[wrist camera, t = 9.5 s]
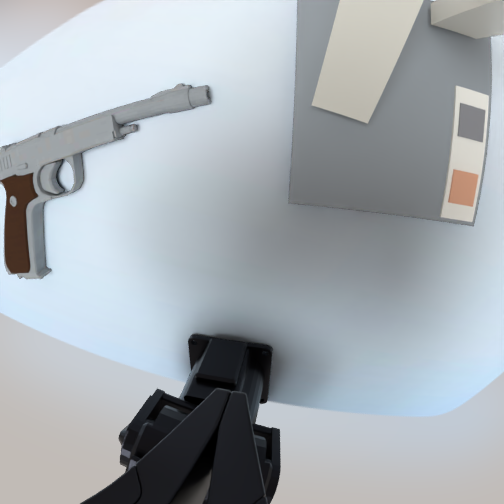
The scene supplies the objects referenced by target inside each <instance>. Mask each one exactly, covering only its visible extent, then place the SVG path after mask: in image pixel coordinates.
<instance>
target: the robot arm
mask: <svg viewBox="0 0 504 504" xmlns="http://www.w3.org/2000/svg"><path fill="white" fill-rule="evenodd" d="M193 340H194V341H196V342H194V341H193ZM188 345H189V354H190V363H191V373H190V375H189V378H188V380H187V382H186V384H185V386H184V389H183V391H182V393H181V396H180V398H176V397H174V396H171V395H169V394H166V393H165V392H164V391H162V390H160V389H157V390H156V391H155V393H154V394H153V395H152V396H150V397H149V398H148V399H147V400H146V402H145V404H144V405H143V406H142V408H141V409H140V410H139V412H138V413H137V415H136V416H135V417H134V419H133V420H132V422H131V423H130V424H129V425H128V426H126V427H125V428H124V429H123V430H122V431H121V432H120V435H119V441H120V443H121V445H122V448H121V455H120V464H121V465H123V466H125V467H127V468H126V472H125V473H124V474H123V475H122V476H121V477H119V478H118V479H117V480H116V481H114V482H113V483H112V484H110V485H109V486H107V487H106V488H104V489H103V490H102V491H100V492H98V493H97V494H96V495H94V496H92V497H90V498H89V499H87V500H85V501H84V502H82V503H80V504H270V503H271V501H272V499H273V496H274V494H275V491H276V488H277V485H278V481H279V475H280V429H277V428H273V427H272V428H268V427H265V426H261V425H257V424H255V422H256V417H257V412H258V408H259V403H260V404H263V403H266V402H267V400H268V392H269V382H270V372H271V362H272V352H273V350H272V348H271V347H270V346H268V345H261V344H253V343H246V342H239V341H232V340H225V339H218V338H212V337H205V336H199V335H191V336H190V338H189V340H188ZM263 351H267V352H268V353H265V352H263ZM262 398H263V399H262Z"/></svg>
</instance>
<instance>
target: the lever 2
mask: <svg viewBox="0 0 504 504" xmlns="http://www.w3.org/2000/svg"><path fill="white" fill-rule="evenodd" d="M431 25H434V26H438V27H441V28H445V29H448V30H451V31H454V32H457V33H460V34H463V35H466V36H469V37H472V38H475V39H478V38H484V37H491V36H498V35H504V0H436V1H434V2H432V3H431Z"/></svg>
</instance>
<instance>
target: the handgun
mask: <svg viewBox="0 0 504 504" xmlns="http://www.w3.org/2000/svg"><path fill="white" fill-rule="evenodd" d="M207 92H209V89H208V86H207V85H205V86H200V87H195V88H191V85H186V86H183V84H178V85H177V86H175V87H174V88H173V89H169V90H165V91H161V92H159V93H157V94H155V95H153V96H151V98H149V99H145V100H141V101H138V102H134V103H131V104H127V105H124V106H121V107H117V108H114V109H111V110H108V111H105V112H102V113H99V114H96V115H93V116H90V117H87V118H84V119H81V120H79V121H76V122H73V123H70V124H68V125H65V126H63V127H62V126H57V127H55V128H52V129H50V130H48V131H45V132H41V133H38V134H36V135H34V136H32V137H30V138H27V139H25V140H23V141H21V142H19V143H17V144H15V143H13V144H10V145H6V146H2V147H0V184H2V185H3V186H4V188H5V190H6V208H5V224H4V264H5V268H6V271H7V272H8V274H9V275H10V274H17V276H18V277H19V279H21V278H22V277H24V278H26V279H42V278H43V277H44V276H46V275H47V274H48V273H49V272H51V269H49V268H47V267H46V259H45V245H44V225H43V206H44V203H45V201H48V200H51V199H54V198H58V197H62V196H66V195H69V194H71V193H73V192H75V191H76V190H78V189H79V188H80V187H81V185H82V182H83V180H84V177H83V165H82V157H81V153H82V152H84V151H86V150H88V149H91V148H93V147H97V146H100V145H103V144H106V143H109V142H113V141H116V140H120V139H123V138H124V137H122V136H125V134H127V133H131V132H135V131H136V130H137V127H136V125H135V124H133V125H129V126H125V127H124V123H128V122H131V121H135V120H139V119H143V118H147V117H151V116H155V115H159V114H163V113H174V112H179V111H183V110H188V109H193V108H195V107H196V106H201V105H207V104H210V98H208V97H207ZM118 137H120V138H118ZM63 158H64V159H65V160H66V161H67V162H69V164H70V165H71V167H72V169H73V173H74V184H73V187H72V189H71V191H67V192H62V191H64V189H62V188H61V187H60V186H59V185H58V183H57V180H56V173H57V170H58V168H59V166H60V164H61V162H62V160H60V159H63ZM57 160H60V161H57ZM54 161H57V162H54Z"/></svg>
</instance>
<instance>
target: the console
mask: <svg viewBox="0 0 504 504" xmlns="http://www.w3.org/2000/svg"><path fill="white" fill-rule="evenodd" d="M339 1H340V0H297V41H296V71H295V96H294V118H293V137H292V155H291V172H290V187H289V202H288V203H291V204H302V205H312V206H322V207H332V208H341V209H350V210H359V211H368V212H376V213H384V214H392V215H400V216H407V217H415V218H422V219H429V220H436V221H443V222H449V223H456V224H462V225H468V226H474V223H475V218H476V214H477V209H478V204H479V199H480V193H481V188H482V182H483V176H484V169H485V162H486V155H487V146H488V137H489V126H490V111H491V85H492V65H491V39H490V37H484V38H478V39H475V38H472V37H469V36H466V35H463V34H460V33H457V32H454V31H451V30H448V29H445V28H441V27H438V26H434V25H431V3H432V2H434V1H432V0H423V3H422V5H421V8H420V10H419V12H418V15H417V17H416V19H415V22H414V24H413V26H412V29H411V31H410V33H409V35H408V38H407V40H406V42H405V45H404V47H403V49H402V51H401V53H400V56H399V58H398V60H397V62H396V64H395V67H394V69H393V71H392V73H391V75H390V78H389V80H388V82H387V84H386V86H385V88H384V90H383V93H382V95H381V97H380V99H379V101H378V103H377V105H376V107H375V109H374V111H373V114H372V116H371V118H370V120H369V122H368V124H367V123H365V122H362V121H359V120H356V119H353V118H350V117H347V116H344V115H341V114H338V113H335V112H332V111H329V110H325V109H322V108H319V107H315V106H312V102H313V98H314V95H315V91H316V87H317V84H318V80H319V76H320V73H321V69H322V65H323V62H324V58H325V54H326V50H327V47H328V43H329V39H330V35H331V32H332V28H333V24H334V20H335V17H336V13H337V9H338V5H339Z"/></svg>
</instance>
